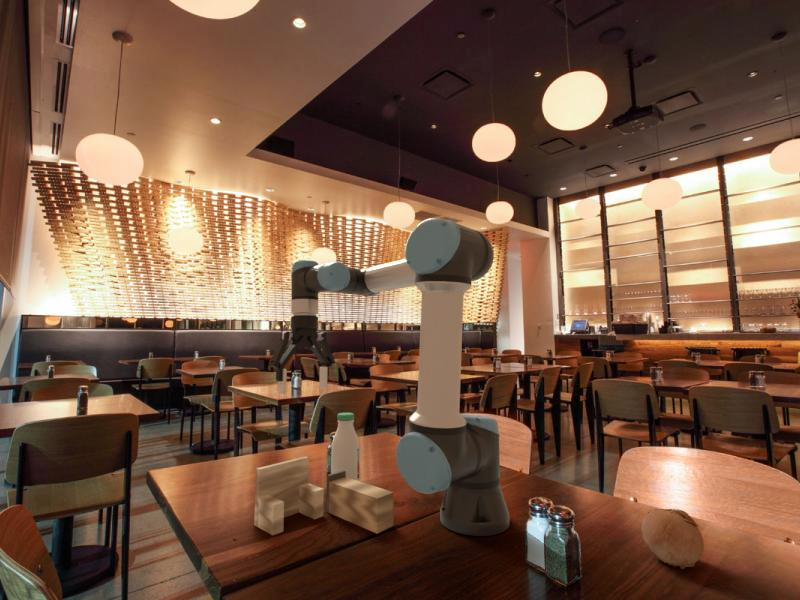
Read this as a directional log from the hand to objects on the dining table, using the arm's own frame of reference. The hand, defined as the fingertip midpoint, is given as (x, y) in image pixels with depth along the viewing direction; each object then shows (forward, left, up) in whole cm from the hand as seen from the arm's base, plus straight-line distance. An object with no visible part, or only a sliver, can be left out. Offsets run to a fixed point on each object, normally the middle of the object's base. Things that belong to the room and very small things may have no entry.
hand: (303, 391), depth 116 cm
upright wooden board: (-15, +13, -26) cm, 33 cm away
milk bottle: (-8, -9, -26) cm, 29 cm away
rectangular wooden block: (-26, +2, -26) cm, 37 cm away
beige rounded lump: (-82, -23, -26) cm, 89 cm away
